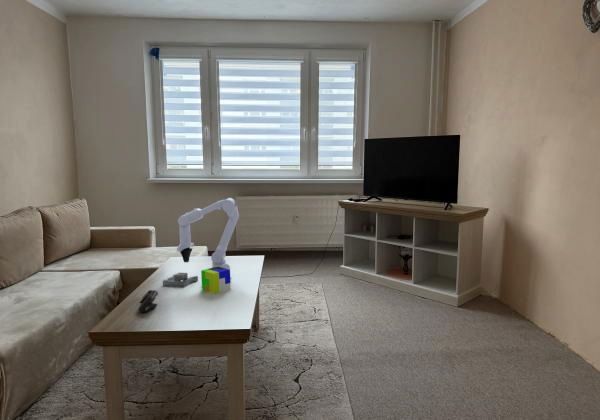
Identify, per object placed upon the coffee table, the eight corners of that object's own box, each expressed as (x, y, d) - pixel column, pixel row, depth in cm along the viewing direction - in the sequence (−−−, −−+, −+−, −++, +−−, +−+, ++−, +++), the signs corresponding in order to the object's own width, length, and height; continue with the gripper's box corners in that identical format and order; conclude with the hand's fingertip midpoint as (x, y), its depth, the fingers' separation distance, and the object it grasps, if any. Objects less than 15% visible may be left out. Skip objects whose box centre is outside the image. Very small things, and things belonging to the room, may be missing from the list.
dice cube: (187, 282, 220) (187, 272, 220) (183, 284, 215) (182, 275, 215) (179, 281, 221) (178, 272, 221) (174, 284, 216) (174, 275, 216)
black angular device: (154, 307, 186) (140, 299, 185) (164, 293, 186) (151, 285, 184) (147, 320, 175) (133, 311, 173) (158, 304, 174) (144, 296, 172)
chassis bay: (173, 278, 226) (173, 273, 226) (198, 280, 223) (198, 274, 222) (160, 285, 214) (159, 279, 214) (186, 287, 211) (186, 281, 210)
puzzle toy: (230, 289, 207) (230, 269, 206) (213, 294, 199) (213, 273, 198) (218, 285, 214) (218, 266, 212) (202, 290, 206) (201, 270, 205)
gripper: (185, 234, 231) (186, 258, 233) (171, 239, 217) (172, 264, 219) (196, 235, 229) (197, 259, 231) (183, 239, 215) (184, 265, 217)
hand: (186, 262), depth 225 cm, fingers closed
